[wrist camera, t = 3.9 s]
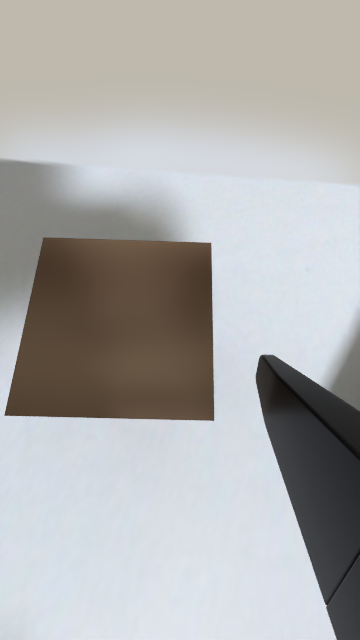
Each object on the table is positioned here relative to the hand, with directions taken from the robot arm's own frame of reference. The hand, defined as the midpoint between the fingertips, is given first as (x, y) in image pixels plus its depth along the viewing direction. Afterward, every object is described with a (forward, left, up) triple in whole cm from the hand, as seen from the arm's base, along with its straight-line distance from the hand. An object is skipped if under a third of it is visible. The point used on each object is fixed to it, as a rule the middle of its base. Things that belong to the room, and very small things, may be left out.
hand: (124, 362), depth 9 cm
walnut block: (0, +1, -9) cm, 9 cm away
